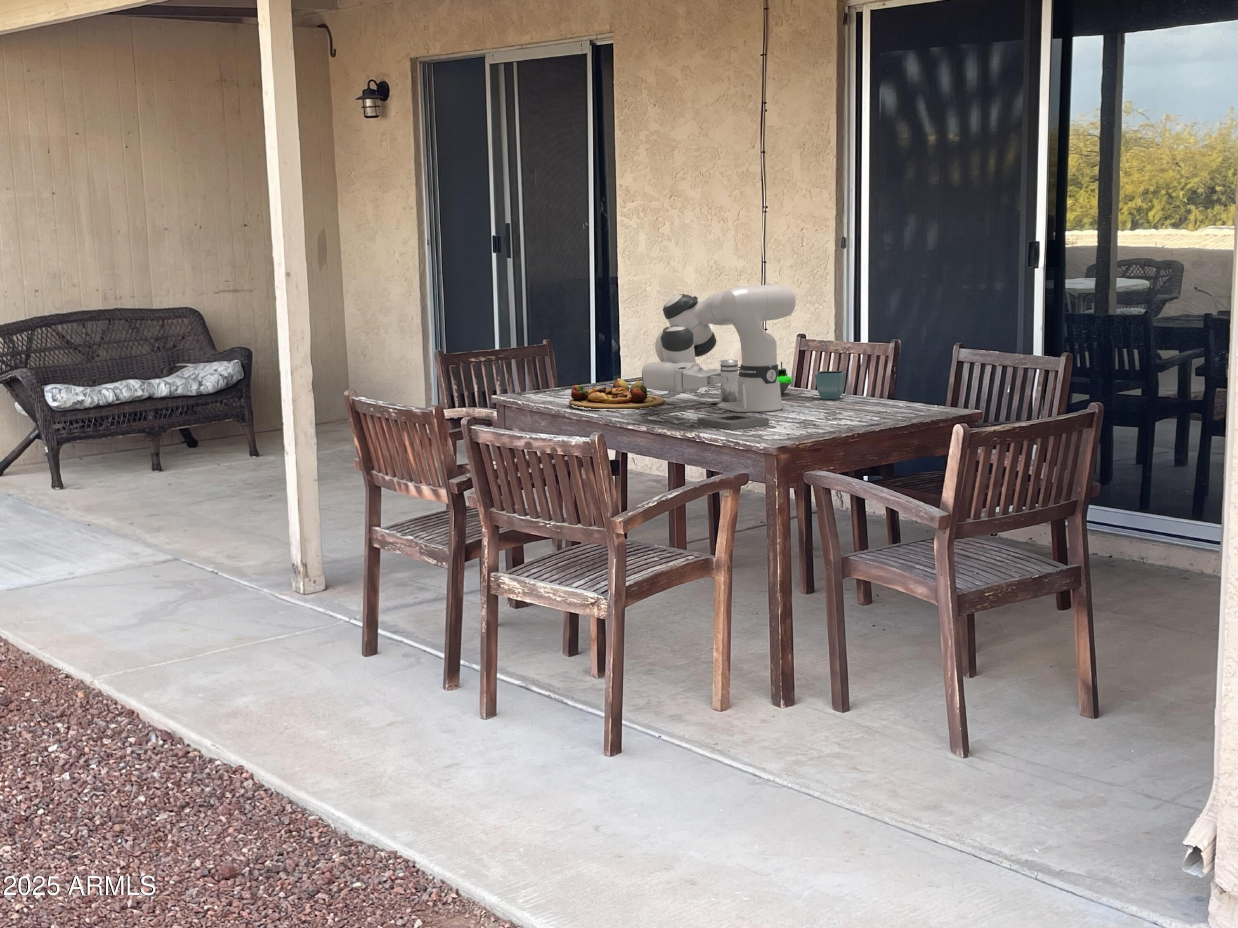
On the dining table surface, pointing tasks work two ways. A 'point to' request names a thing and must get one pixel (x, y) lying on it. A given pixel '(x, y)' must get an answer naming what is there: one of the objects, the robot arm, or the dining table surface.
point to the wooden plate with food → (615, 397)
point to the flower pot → (830, 384)
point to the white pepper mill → (729, 380)
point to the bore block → (733, 421)
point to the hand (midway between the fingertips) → (731, 378)
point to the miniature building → (783, 379)
